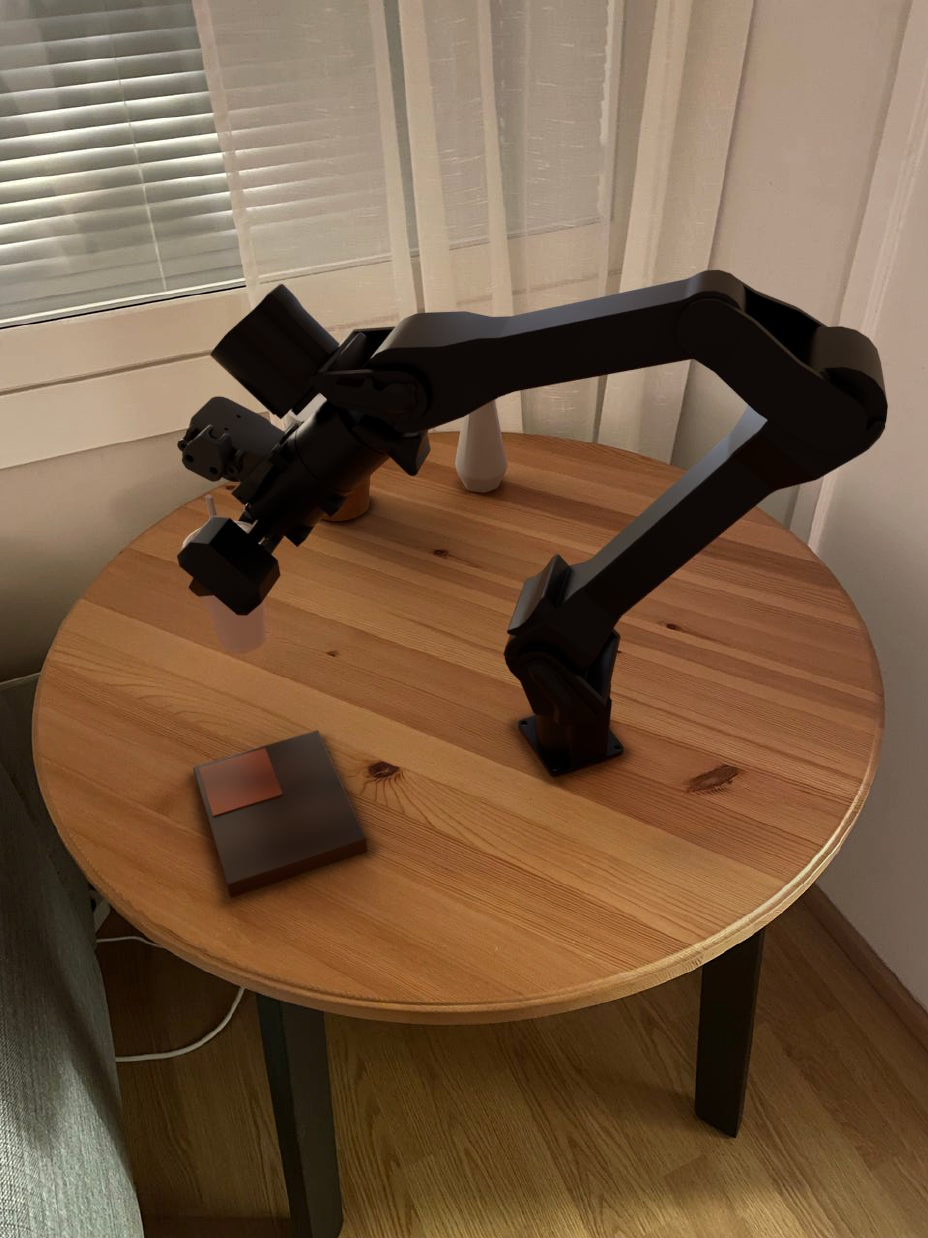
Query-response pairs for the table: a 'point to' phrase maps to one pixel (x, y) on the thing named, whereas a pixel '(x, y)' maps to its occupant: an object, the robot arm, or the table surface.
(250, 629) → the smoothie
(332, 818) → the board
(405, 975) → the table surface
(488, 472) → the salt shaker
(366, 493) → the disposable coffee cup
